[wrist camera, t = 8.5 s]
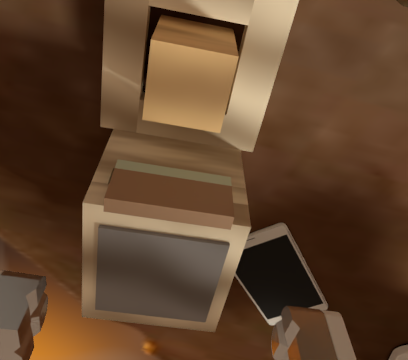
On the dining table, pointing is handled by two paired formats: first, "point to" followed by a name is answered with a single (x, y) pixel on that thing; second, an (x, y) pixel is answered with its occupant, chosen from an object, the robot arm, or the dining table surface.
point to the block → (189, 74)
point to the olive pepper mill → (403, 2)
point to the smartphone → (277, 273)
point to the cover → (170, 195)
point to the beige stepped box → (180, 159)
